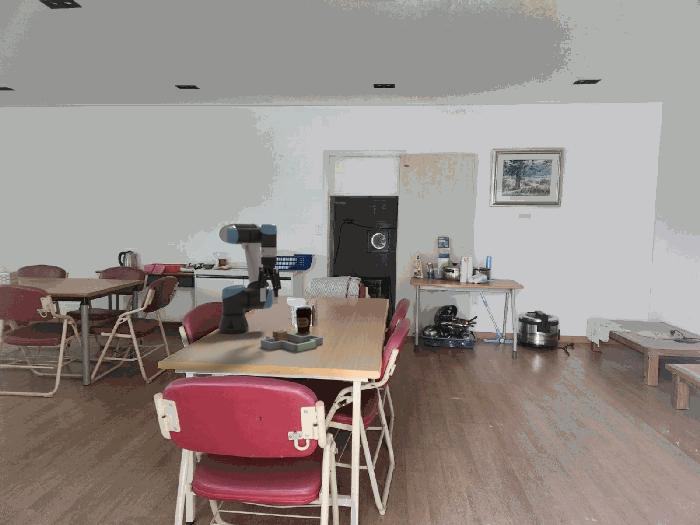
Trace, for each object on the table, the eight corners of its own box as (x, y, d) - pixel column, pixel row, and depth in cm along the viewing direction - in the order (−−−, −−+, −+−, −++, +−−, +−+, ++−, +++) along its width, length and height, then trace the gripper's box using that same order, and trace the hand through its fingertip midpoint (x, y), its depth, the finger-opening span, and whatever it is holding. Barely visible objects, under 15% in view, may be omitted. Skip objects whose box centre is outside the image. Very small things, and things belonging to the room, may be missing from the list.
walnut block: (272, 341, 226) (272, 331, 226) (281, 340, 229) (281, 329, 229) (278, 343, 222) (278, 332, 222) (287, 341, 226) (287, 331, 225)
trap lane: (254, 344, 220) (254, 338, 219) (296, 336, 236) (296, 330, 236) (284, 354, 203) (284, 347, 203) (327, 345, 220) (327, 338, 220)
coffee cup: (309, 335, 240) (309, 309, 239) (293, 334, 241) (293, 308, 240) (314, 331, 248) (314, 306, 247) (298, 330, 250) (298, 305, 249)
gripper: (249, 255, 235) (249, 300, 236) (275, 257, 219) (276, 306, 221) (262, 254, 240) (262, 299, 241) (289, 257, 224) (289, 304, 226)
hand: (269, 302), depth 231 cm, fingers open, 9 cm apart
